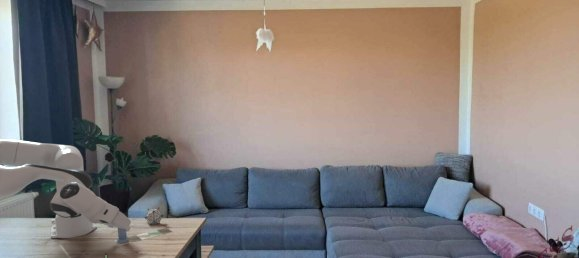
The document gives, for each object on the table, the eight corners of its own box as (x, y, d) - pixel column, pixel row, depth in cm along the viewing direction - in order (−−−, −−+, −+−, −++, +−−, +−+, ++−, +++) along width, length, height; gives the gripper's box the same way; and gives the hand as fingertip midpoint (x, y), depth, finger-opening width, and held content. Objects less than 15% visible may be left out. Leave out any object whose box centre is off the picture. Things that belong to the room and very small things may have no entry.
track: (114, 243, 173) (114, 240, 173) (166, 230, 188) (166, 227, 187) (120, 248, 168) (120, 245, 168) (172, 234, 182) (172, 231, 182)
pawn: (115, 241, 172) (113, 215, 171) (126, 238, 175) (124, 212, 174) (119, 244, 169) (117, 217, 168) (130, 241, 172) (128, 215, 170)
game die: (156, 233, 194) (156, 221, 187) (141, 226, 195) (139, 214, 188) (167, 219, 200) (167, 206, 194) (152, 212, 202) (151, 199, 195)
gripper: (76, 214, 164) (99, 230, 174) (110, 222, 154) (133, 239, 164) (85, 200, 167) (107, 217, 177) (119, 207, 158) (141, 224, 167)
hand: (120, 227), depth 170 cm, fingers open, 8 cm apart
